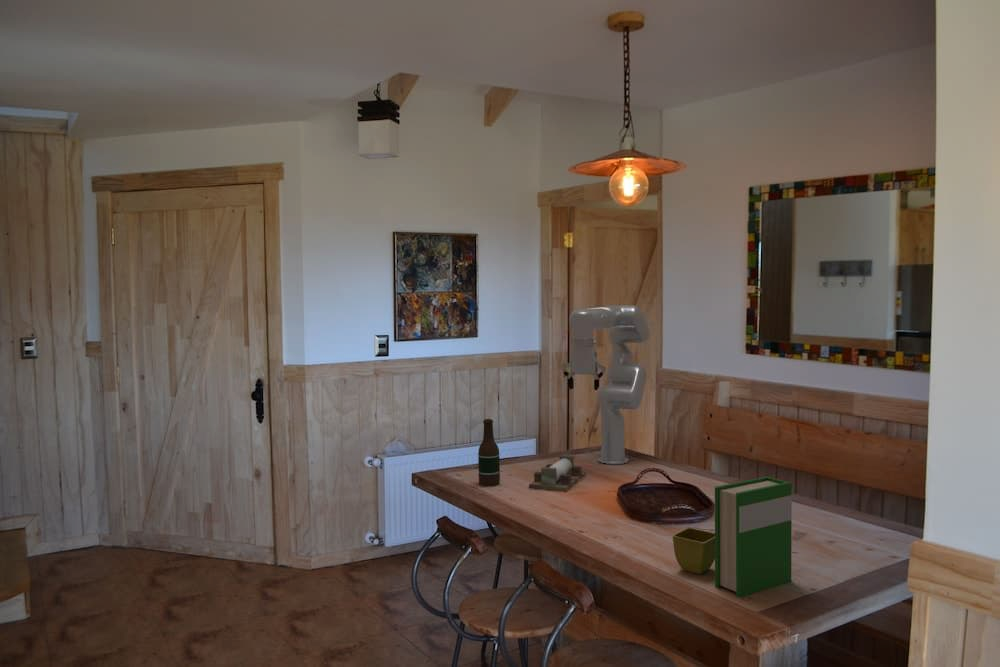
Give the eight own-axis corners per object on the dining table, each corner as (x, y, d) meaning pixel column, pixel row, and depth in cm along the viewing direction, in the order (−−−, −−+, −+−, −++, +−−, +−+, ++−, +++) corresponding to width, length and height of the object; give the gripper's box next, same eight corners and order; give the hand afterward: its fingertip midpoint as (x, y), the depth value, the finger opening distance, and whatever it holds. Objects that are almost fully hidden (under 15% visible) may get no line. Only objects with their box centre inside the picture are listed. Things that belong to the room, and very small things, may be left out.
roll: (558, 472, 289) (557, 458, 289) (572, 473, 287) (571, 458, 287) (544, 482, 274) (543, 467, 274) (559, 483, 272) (558, 468, 272)
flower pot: (720, 569, 191) (720, 533, 190) (704, 579, 184) (704, 542, 184) (688, 561, 197) (688, 527, 196) (671, 570, 190) (671, 535, 190)
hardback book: (739, 597, 173) (739, 493, 172) (715, 587, 179) (714, 486, 178) (791, 581, 182) (791, 482, 181) (766, 572, 188) (766, 476, 187)
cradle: (551, 472, 295) (550, 453, 295) (585, 475, 290) (585, 456, 289) (528, 488, 272) (528, 468, 272) (566, 491, 267) (565, 470, 266)
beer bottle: (499, 486, 275) (498, 421, 274) (478, 487, 276) (477, 421, 274) (500, 481, 283) (499, 417, 282) (479, 481, 283) (478, 417, 282)
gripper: (608, 343, 286) (608, 388, 287) (564, 343, 292) (564, 387, 293) (603, 345, 279) (603, 391, 280) (558, 344, 285) (558, 389, 286)
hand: (583, 389), depth 286 cm, fingers open, 9 cm apart
